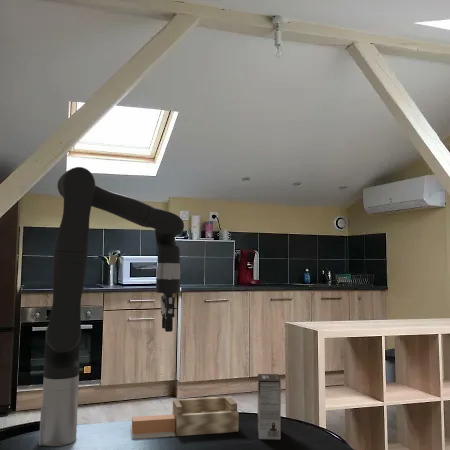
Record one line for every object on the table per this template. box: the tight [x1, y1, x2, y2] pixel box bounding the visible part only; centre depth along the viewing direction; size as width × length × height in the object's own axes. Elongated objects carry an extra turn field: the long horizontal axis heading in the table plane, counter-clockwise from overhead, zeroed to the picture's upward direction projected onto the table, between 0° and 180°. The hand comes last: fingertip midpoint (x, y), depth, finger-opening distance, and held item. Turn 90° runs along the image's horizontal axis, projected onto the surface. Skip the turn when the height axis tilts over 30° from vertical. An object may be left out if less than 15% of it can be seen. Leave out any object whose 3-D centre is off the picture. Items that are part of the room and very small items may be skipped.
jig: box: [171, 395, 240, 437], centre depth 139 cm, size 18×10×8 cm, turn 104°
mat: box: [129, 425, 176, 440], centre depth 135 cm, size 12×10×1 cm
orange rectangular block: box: [131, 414, 175, 434], centre depth 135 cm, size 12×4×4 cm, turn 104°
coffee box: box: [257, 373, 282, 440], centre depth 135 cm, size 9×6×16 cm
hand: (167, 329), depth 146 cm, fingers open, 8 cm apart
